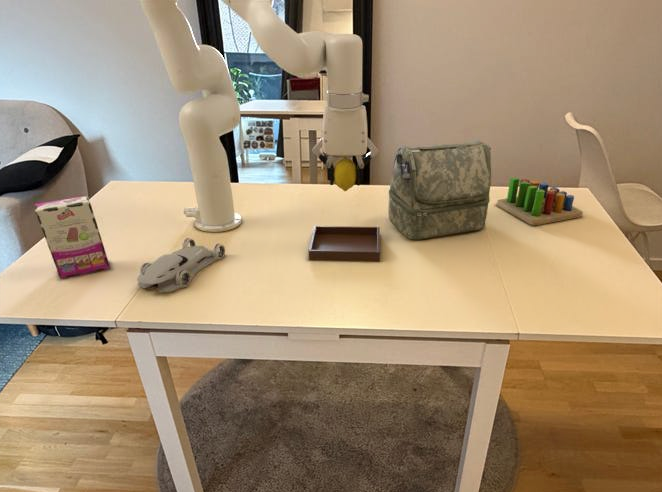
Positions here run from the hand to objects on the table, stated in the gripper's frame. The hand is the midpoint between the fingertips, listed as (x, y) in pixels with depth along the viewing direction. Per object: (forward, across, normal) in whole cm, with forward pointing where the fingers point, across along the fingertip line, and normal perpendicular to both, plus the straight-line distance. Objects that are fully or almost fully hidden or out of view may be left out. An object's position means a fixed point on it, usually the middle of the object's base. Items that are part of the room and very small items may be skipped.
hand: (345, 182), depth 128 cm
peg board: (+17, -55, -27) cm, 64 cm away
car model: (+17, +38, +15) cm, 44 cm away
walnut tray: (+17, 0, 0) cm, 17 cm away
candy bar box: (+17, +61, +15) cm, 65 cm away
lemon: (+2, 0, 0) cm, 2 cm away
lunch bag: (+17, -24, -15) cm, 33 cm away
